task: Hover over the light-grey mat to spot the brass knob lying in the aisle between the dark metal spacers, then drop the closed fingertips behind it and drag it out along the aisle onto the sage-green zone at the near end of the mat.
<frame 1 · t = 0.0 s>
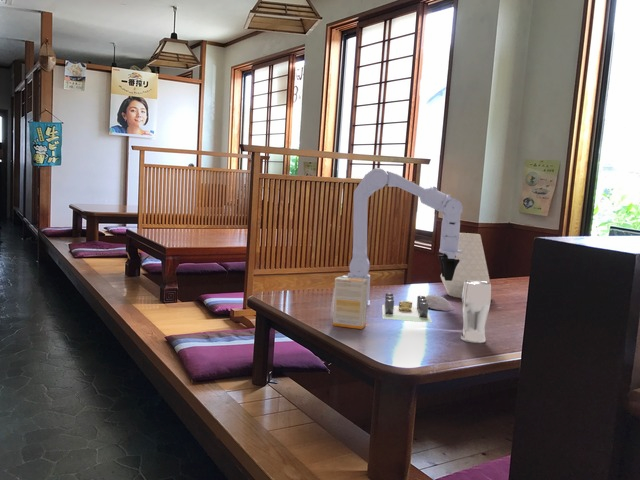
hand: (446, 278, 176), 10 cm above the table, fingers open, 7 cm apart
vase: (463, 296, 204), on the table
supplement box: (349, 326, 149), on the table
brass knob: (405, 310, 170), point 1 cm above the table, touching field mat
seashell: (437, 308, 177), on the table, touching field mat
spacers: (405, 304, 169), on the field mat, point 3 cm above the table
field mat: (405, 314, 166), on the table
beer glass: (472, 340, 141), on the table
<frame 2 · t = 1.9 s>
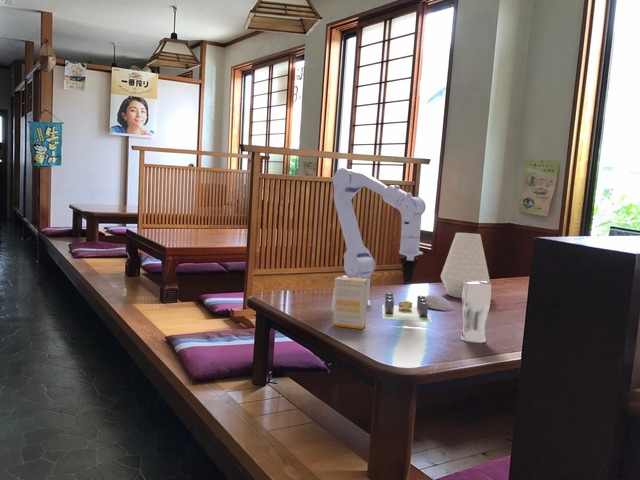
hand: (407, 281, 167), 10 cm above the table, fingers closed
nothing on the table moved.
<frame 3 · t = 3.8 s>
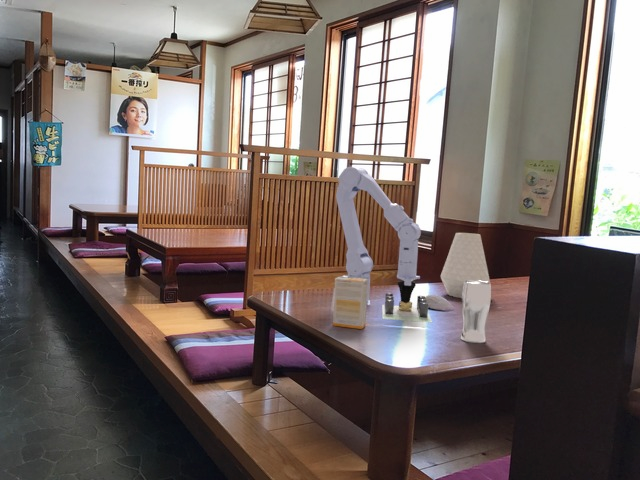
hand: (404, 304, 173), 2 cm above the table, fingers closed
brass knob: (405, 310, 170), point 1 cm above the table, touching field mat, gripper
everything else where it was.
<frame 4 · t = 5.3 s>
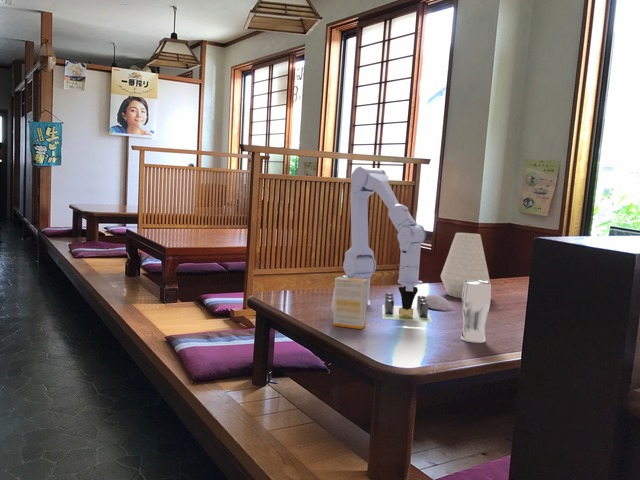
hand: (406, 311, 163), 2 cm above the table, fingers closed
brass knob: (405, 317, 160), point 1 cm above the table, touching gripper
everything else where it was.
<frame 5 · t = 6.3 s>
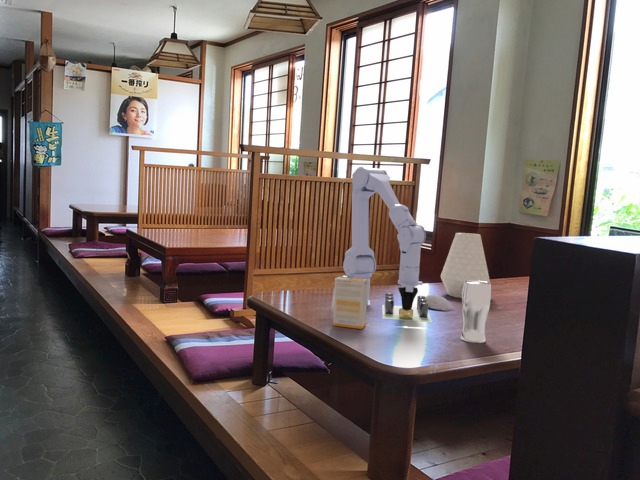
hand: (406, 312, 162), 2 cm above the table, fingers closed
brass knob: (405, 318, 159), point 1 cm above the table, touching field mat
everything else where it was.
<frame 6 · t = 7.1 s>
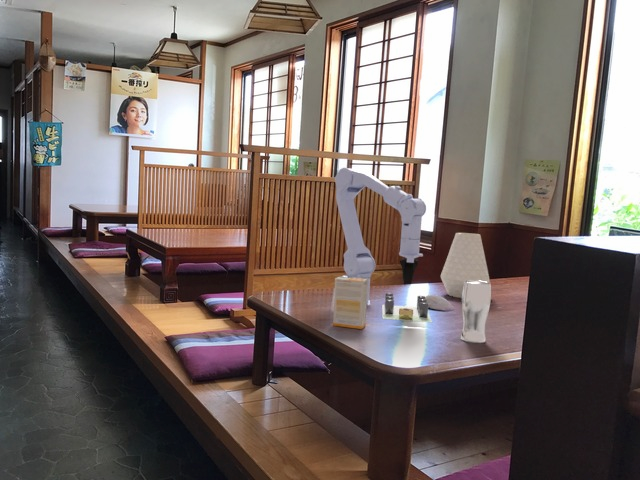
hand: (407, 283, 166), 9 cm above the table, fingers closed
nothing on the table moved.
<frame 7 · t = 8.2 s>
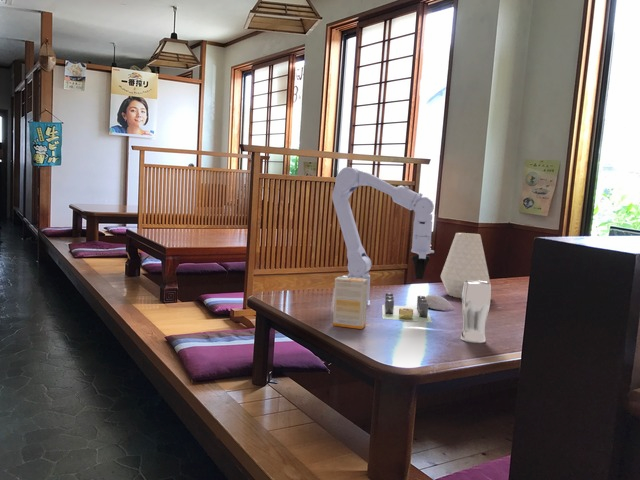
hand: (419, 278, 174), 10 cm above the table, fingers closed
nothing on the table moved.
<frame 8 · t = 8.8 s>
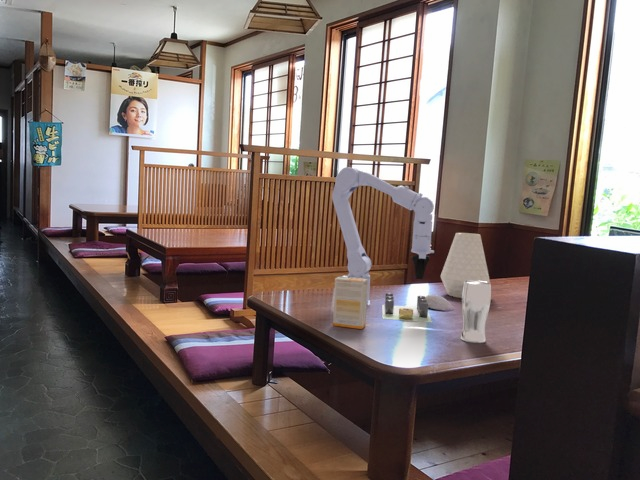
hand: (419, 278, 174), 10 cm above the table, fingers closed
nothing on the table moved.
at the end: brass knob inside the target area on the field mat (0.7 cm from its centre), point 0.6 cm above the field mat's base; brass knob moved 11.1 cm from its start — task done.
